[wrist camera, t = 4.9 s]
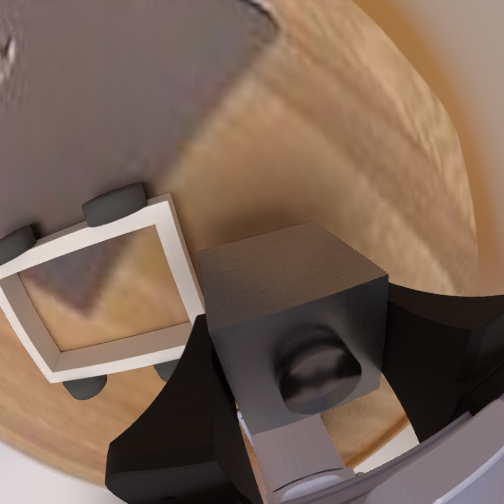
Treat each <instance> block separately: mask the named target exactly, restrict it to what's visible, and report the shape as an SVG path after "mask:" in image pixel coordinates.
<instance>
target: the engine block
mask: <svg viewBox="0 0 504 504" xmlns="http://www.w3.org/2000/svg"><path fill="white" fill-rule="evenodd" d="M198 257H199V265H200V273H201V281H202V289H203V296H204V304H205V311H206V318H207V324H208V331H209V334H210V337H211V340H212V342H213V345H214V348H215V350H216V353H217V355H218V358H219V361H220V363H221V366H222V368H223V371H224V373H225V376H226V379H227V381H228V384H229V386H230V388H231V391H232V393H233V396H234V398H235V401H236V403H237V405H238V408H239V410H240V412H241V415H242V417H243V419H244V422H245V424H246V426H247V429H248V431H249V433H250V435H255V434H259V433H262V432H266V431H269V430H272V429H276V428H279V427H282V426H285V425H288V424H292V423H295V422H297V421H300V420H303V419H306V418H309V417H312V416H314V415H317V414H320V413H322V412H325V411H328V410H330V409H333V408H335V407H338V406H340V405H343V404H345V403H347V402H350V401H352V400H354V399H357V398H359V397H361V396H363V395H365V394H368V393H370V392H372V391H374V390H376V389H378V388H379V383H380V376H381V369H382V361H383V352H384V342H385V332H386V319H387V302H388V273H387V272H385V271H384V270H383V269H381V268H380V267H378V266H377V265H376V264H374V263H373V262H372V261H370V260H369V259H367V258H366V257H365V256H363V255H362V254H360V253H359V252H357V251H356V250H355V249H353V248H352V247H350V246H349V245H347V244H346V243H345V242H343V241H342V240H340V239H339V238H337V237H336V236H334V235H333V234H331V233H330V232H328V231H327V230H325V229H324V228H323V227H321V226H320V225H318V224H317V223H315V222H314V221H310V222H306V223H303V224H299V225H295V226H291V227H287V228H284V229H280V230H276V231H272V232H269V233H265V234H261V235H257V236H254V237H250V238H246V239H242V240H239V241H235V242H231V243H228V244H224V245H220V246H217V247H213V248H209V249H206V250H202V251H198Z"/></svg>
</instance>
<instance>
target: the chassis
mask: <svg viewBox="0 0 504 504" xmlns="http://www.w3.org/2000/svg"><path fill="white" fill-rule="evenodd" d="M82 209H83V212H84V215H85V218H86V221H84V222H81V223H79V224H76V225H73V226H71V227H68V228H66V229H63V230H61V231H58V232H55V233H53V234H51V235H48V236H46V237H43V238H41V239H38V240H36V239H35V237H34V234H33V231H32V229H31V226H30V225H28V226H25V227H23V228H21V229H19V230H17V231H15V232H13V233H11V234H9V235H7V236H5V237H4V238H2V239H0V306H1V308H2V310H3V311H4V313H5V315H6V317H7V319H8V320H9V322H10V324H11V325H12V327H13V329H14V331H15V332H16V334H17V335H18V337H19V339H20V340H21V342H22V343H23V345H24V347H25V348H26V350H27V351H28V353H29V354H30V356H31V357H32V358H33V360H34V361H35V363H36V364H37V366H38V367H39V368H40V370H41V371H42V373H43V374H44V375H45V377H46V378H47V379H48V381H49V382H50V383H55V382H63V385H64V386H65V388H66V389H67V390H68V391H69V393H70V394H71V395H72V396H73V397H74V398H75V399H77V400H87V399H90V398H92V397H94V396H95V395H97V394H98V393H99V392H100V391H101V390H102V389H103V388H104V386H105V384H106V382H107V374H110V373H116V372H121V371H126V370H131V369H135V368H140V367H145V366H149V365H153V366H154V368H155V369H156V371H157V373H158V375H159V376H160V378H161V379H162V380H164V381H166V382H167V381H168V380H169V378H170V376H171V375H172V373H173V371H174V369H175V368H176V365H177V363H178V361H179V359H180V357H181V355H182V353H183V351H184V348H185V346H186V344H187V341H188V339H189V336H190V333H191V330H192V327H193V324H194V321H195V318H196V316H197V315H200V314H204V313H206V311H205V304H204V297H203V294H202V292H201V289H200V286H199V283H198V280H197V277H196V274H195V271H194V268H193V265H192V262H191V259H190V256H189V252H188V249H187V246H186V243H185V240H184V237H183V233H182V230H181V227H180V224H179V220H178V217H177V214H176V210H175V207H174V204H173V200H172V197H171V193H167V194H164V195H160V196H157V197H154V198H151V199H148V200H147V199H146V196H145V193H144V189H143V186H142V183H135V184H131V185H128V186H125V187H122V188H119V189H116V190H113V191H111V192H108V193H106V194H103V195H101V196H98V197H96V198H94V199H92V200H90V201H88V202H86V203H85V204H83V205H82ZM153 224H155V225H156V228H157V231H158V234H159V237H160V240H161V243H162V246H163V249H164V252H165V255H166V258H167V260H168V263H169V266H170V269H171V272H172V274H173V277H174V280H175V282H176V285H177V288H178V290H179V293H180V296H181V298H182V301H183V303H184V306H185V309H186V311H187V314H188V316H189V319H190V322H187V323H183V324H179V325H175V326H172V327H168V328H164V329H160V330H156V331H152V332H148V333H144V334H140V335H136V336H132V337H128V338H124V339H120V340H115V341H111V342H107V343H103V344H98V345H94V346H89V347H85V348H80V349H75V350H70V351H66V352H60V350H59V349H58V347H57V345H56V344H55V342H54V341H53V339H52V337H51V336H50V334H49V332H48V331H47V329H46V327H45V326H44V324H43V322H42V320H41V319H40V317H39V315H38V313H37V312H36V310H35V308H34V306H33V304H32V302H31V300H30V298H29V296H28V294H27V292H26V290H25V288H24V286H23V284H22V282H21V280H20V278H19V276H18V274H17V272H19V271H22V270H24V269H27V268H29V267H32V266H34V265H37V264H40V263H42V262H45V261H48V260H50V259H53V258H56V257H58V256H61V255H64V254H67V253H69V252H72V251H75V250H78V249H81V248H83V247H86V246H89V245H92V244H95V243H98V242H101V241H104V240H107V239H110V238H113V237H116V236H119V235H122V234H125V233H128V232H131V231H134V230H137V229H140V228H144V227H147V226H150V225H153Z"/></svg>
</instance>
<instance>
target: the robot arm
mask: <svg viewBox="0 0 504 504" xmlns="http://www.w3.org/2000/svg"><path fill="white" fill-rule="evenodd" d="M381 372H382V373H383V375H384V376H385V378H386V379H387V381H388V383H389V384H390V386H391V387H392V389H393V391H394V392H395V394H396V396H397V398H398V400H399V401H400V403H401V405H402V407H403V409H404V411H405V413H406V415H407V417H408V419H409V421H410V423H411V425H412V427H413V429H414V431H415V434H416V436H417V438H418V441H419V443H420V444H419V445H417V446H415V447H414V448H412V449H410V450H409V451H407V452H405V453H403V454H402V455H400V456H398V457H396V458H394V459H393V460H391V461H389V462H387V463H385V464H383V465H381V466H379V467H377V468H375V469H373V470H371V471H369V472H367V473H363V472H358V473H357V474H355V473H354V471H353V469H352V467H351V466H350V467H348V468H346V467H345V465H344V463H343V461H342V459H341V457H340V455H339V453H338V451H337V449H336V447H335V445H334V443H333V441H332V439H331V437H330V435H329V433H328V431H327V429H326V427H325V425H324V423H323V421H322V419H321V413H320V414H317V415H314V416H312V417H309V418H306V419H303V420H300V421H297V422H295V423H292V424H288V425H285V426H282V427H279V428H276V429H272V430H269V431H266V432H262V433H259V434H255V435H250V433H249V431H248V429H247V426H246V424H245V422H244V419H243V417H242V415H241V412H240V410H239V411H237V409H236V402H235V398H234V396H233V393H232V391H231V388H230V386H229V384H228V381H227V379H226V376H225V373H224V371H223V368H222V366H221V363H220V361H219V358H218V355H217V353H216V350H215V348H214V345H213V342H212V340H211V337H210V334H209V331H208V324H207V318H206V313H204V314H200V315H197V316H196V318H195V321H194V324H193V327H192V330H191V333H190V336H189V339H188V341H187V344H186V346H185V348H184V351H183V353H182V355H181V357H180V359H179V361H178V363H177V365H176V368H175V369H174V371H173V373H172V375H171V376H170V378H169V380H168V381H167V383H166V385H165V386H164V388H163V389H162V390H161V392H160V393H159V395H158V396H157V397H156V398H155V400H154V401H153V402H152V404H151V405H150V406H149V407H148V408H147V409H146V411H145V412H144V413H143V414H142V415H141V416H140V417H139V418H138V419H137V420H136V421H135V422H134V423H133V424H132V425H131V426H130V427H129V428H128V429H126V430H125V431H124V432H123V433H122V434H121V435H119V436H118V437H117V438H116V439H115V440H113V441H112V442H111V443H110V445H109V450H108V454H107V463H106V475H105V485H106V487H107V488H108V490H109V491H111V492H112V493H113V494H114V495H116V496H117V497H119V498H120V499H122V500H123V501H125V502H127V503H128V504H264V503H263V500H262V497H261V495H260V492H259V489H258V486H257V483H256V480H255V476H254V473H253V470H252V467H251V464H250V461H249V457H248V454H247V451H246V447H245V444H244V440H243V437H242V433H241V429H240V425H239V421H240V423H241V425H242V427H243V429H244V431H245V433H246V435H247V437H248V439H249V441H250V443H251V445H252V447H253V449H254V451H255V454H256V458H257V461H258V464H259V468H260V471H261V475H262V478H263V481H264V484H265V487H266V491H267V495H265V497H266V500H267V503H268V504H504V295H496V296H486V297H461V296H448V295H440V294H433V293H428V292H422V291H418V290H414V289H410V288H406V287H402V286H399V285H396V284H392V283H389V282H388V302H387V319H386V332H385V342H384V352H383V361H382V369H381ZM238 419H239V421H238Z"/></svg>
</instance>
